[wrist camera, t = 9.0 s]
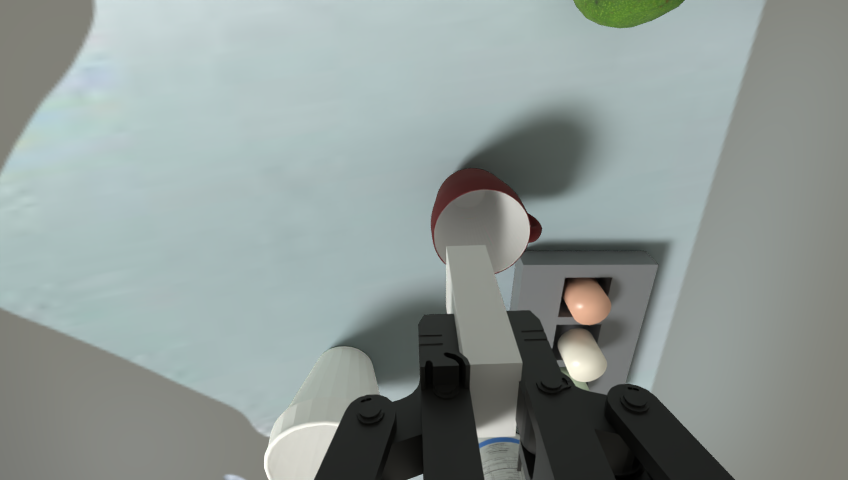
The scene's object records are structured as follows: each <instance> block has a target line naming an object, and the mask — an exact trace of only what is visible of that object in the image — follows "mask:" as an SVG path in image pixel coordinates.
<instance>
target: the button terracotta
mask: <svg viewBox="0 0 848 480" xmlns="http://www.w3.org/2000/svg"><path fill="white" fill-rule="evenodd" d="M562 297H563V299H564V301H565V303H566V305H567V306H568V308H569V310H570V312H571V314H572V316H573V318H574V319H575V320H576V321H577V322H578V323H580V324H583V325H593V324H596V323H599V322H601V321H602V320H604V319H605V318H606V317H607V316H608V314H609V313H610V310H611V302H610V300H609V298H608V297H607V295H606V294H605V292H604V291H603V289H602V288H601V286H600V285H599V283H598V282H597V280H596V279H595V278H594V277H578V278H566V279H565V280H564V286H563V291H562Z"/></svg>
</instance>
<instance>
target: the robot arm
mask: <svg viewBox="0 0 848 480" xmlns="http://www.w3.org/2000/svg"><path fill="white" fill-rule="evenodd" d="M446 308H447V314H430V315H424V316H423V318H422V319H421V321H420V323H419V324H418V329H419V363H420V383H419V385H418V387H417V389H416V390H415V391H414V392H413V393H412V394H410V395H409V396H407V397H405V398H403V399H400V400H397V401H394V402H392V401H390V400H389V399H388V398H387V397H384V396H381V395H378V394H374V395H365V396H362V397H359V398H357V399H356V400H354V401H353V402H351V403H350V405H349V406H348V407H347V409H346V410H345V412H344V415H343V417H342V419H341V421H340V423H339V426H338V428H337V430H336V432H335V434H334V437H333V439H332V441H331V443H330V445H329V447H328V450H327V452H326V454H325V456H324V458H323V461H322V463H321V465H320V467H319V469H318V472H317V474H316V476H315V478H314V480H408V479H410V478H413V477H416V476H418V475H421V474H423V480H485V479H484V473H483V467H482V461H481V455H480V449H479V442H478V438H484V437H510V436H515V434H516V424H517V428H518V432H519V435H520V441H519V451H518V460H517V471H521V468H522V467H523V471H524V475H525V479H526V480H735V479H734V478H733V477H732V476H731V475H730V474H729V473H728V472H727V471H726V470H725V469H724V468H723V467H722V466H721V465H720V464H719V462H718V461H717V460H716V459H715V458H714V457H712V455H711V454H710V453H709V452H708V451H707V450H706V449H705V448H704V447H703V446H702V445H701V444H700V443H699V441H697V439H696V438H695V437H694V436H693V435H692V434H691V433H690V432H689V431H688V430H687V429H686V428H685V427H684V426H683V425H682V424H681V423H680V422H679V420H677V418H676V417H675V416H674V415H673V414H672V413H671V412H670V411H669V410H668V409H667V408H666V407H665V406H664V405H663V404H662V403H661V402H660V401H659V400H658V398H657V397H655V396H654V395H653V394H652V393H650V392H649V391H648V390H646V389H644V388H642V387H639V386H636V385H631V384H618V385H616V386H614V387H612V388H611V389H610V390H609V392H608V393H607V395H605V394H600V393H596V392H591V391H587V390H584V389H581V388H579V387H577V386H575V384H574V382H573V381H572V380H571V378H570V377H568V376H567V375H566V374H564V373H563V372H561V370H560V368H559V365H558V363H557V360H556V358H555V355H554V353H553V351H552V348H551V346H550V343H549V341H548V338H547V336H546V334H545V332H544V329H543V326H542V324H541V321H540V319H539V318H538V317H537V316H535V315H534V314H533V313H532V312H531V311H530V310H519V311H506V309H505V306H504V302H503V299H502V296H501V293H500V290H499V287H498V283H497V280H496V277H495V274H494V271H493V268H492V264H491V261H490V258H489V255H488V252H487V249H486V245H470V246H446Z"/></svg>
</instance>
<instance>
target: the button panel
mask: <svg viewBox="0 0 848 480" xmlns="http://www.w3.org/2000/svg"><path fill="white" fill-rule="evenodd" d="M657 269H658V264H657V262H656V261H655V260H654V259H653V258H652V257H651V256H650V255H649V254H648V253H647V252H646V251H524V253H523V254H522V256H521V257H520V258H519V259H518V260H517V261H516V264H515V272H514V281H513V289H512V297H511V305H510V311H519V310H530V311H531V312H532V313H533V314H534V315H535V316H537V317H538V318H539V319H540V321H541V324H542V326H543V329H544V332H545V334H546V336H547V338H548V341H549V343H550V346H551V348H552V351H553V353H554V355H555V358H556V360H557V363H558V365H559V367H566V365H565V363H564V361H563V358H562V356H561V354H560V352H559V349H558V340H559V338H560V337H561V336H562V335H563V334H564V333H565V332H567V331H569V330H571V329H575V328H582V329H585V330H588V331H589V332H590V333H591V334H592V336H593V338H594V339H595V341H596V343H597V345H598V346H599V348H600V350H601V352H602V354H603V355H604V357H605V359H606V361H607V368H606V370H605V372H604V373H603V375H602V376H600V377H599V378H597V379H595V380H593V381H590V382H586V384H587V386H588V388H589V391H591V392H596V393H600V394H605V395H607V393H608V392H609V390H610V389H611V388H612V387H614V386H616V385H618V384H625V383H626V380H627V376H628V372H629V369H630V365H631V362H632V358H633V354H634V351H635V347H636V344H637V340H638V337H639V333H640V329H641V326H642V322H643V319H644V315H645V312H646V308H647V304H648V301H649V297H650V294H651V290H652V287H653V283H654V279H655V276H656V272H657ZM578 277H594V278H595V279H596V280H597V282H598V283H599V285H600V286H601V288H602V289H603V291H604V292H605V294H606V295H607V297H608V298H609V300H610V302H611V310H610V313H609V314H608V316H607V317H606V318H605V319H604V320H602V321H601V322H599V323H596V324H593V325H583V324H580V323H578V322H577V321H576V320H575V319H574V318H573V316H572V314H571V312H570V310H569V308H568V306H567V305H566V303H565V301H564V299H563V297H562V291H563V286H564V280H565V279H566V278H578Z"/></svg>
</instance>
